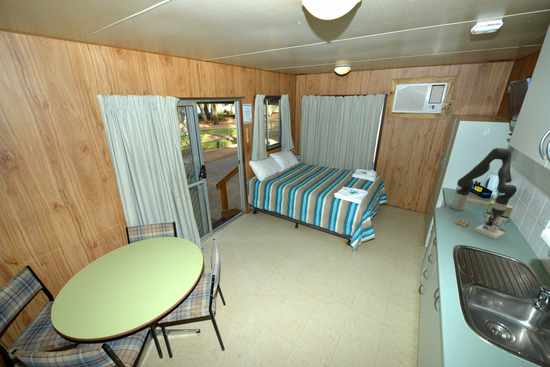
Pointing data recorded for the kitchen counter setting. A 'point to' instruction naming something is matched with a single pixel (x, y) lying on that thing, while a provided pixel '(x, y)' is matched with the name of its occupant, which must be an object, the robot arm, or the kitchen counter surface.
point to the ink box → (492, 224)
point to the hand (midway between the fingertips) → (492, 224)
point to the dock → (490, 232)
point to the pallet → (461, 223)
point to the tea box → (503, 217)
